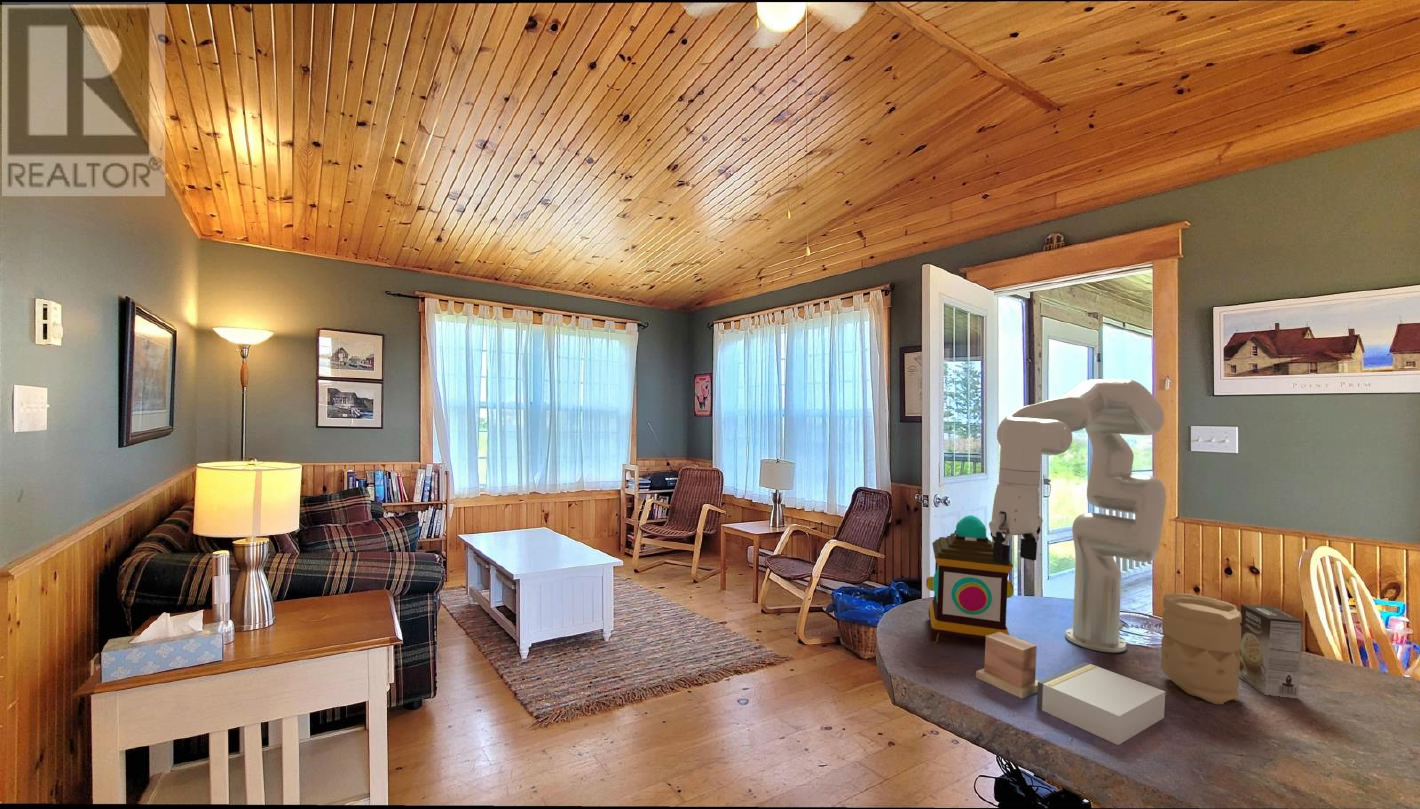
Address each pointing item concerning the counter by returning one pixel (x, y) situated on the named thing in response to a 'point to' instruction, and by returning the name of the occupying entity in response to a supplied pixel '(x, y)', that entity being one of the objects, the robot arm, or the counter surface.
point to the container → (1202, 646)
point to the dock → (1101, 702)
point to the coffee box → (1270, 650)
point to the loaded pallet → (1010, 664)
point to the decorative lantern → (968, 584)
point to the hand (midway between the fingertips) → (1014, 561)
